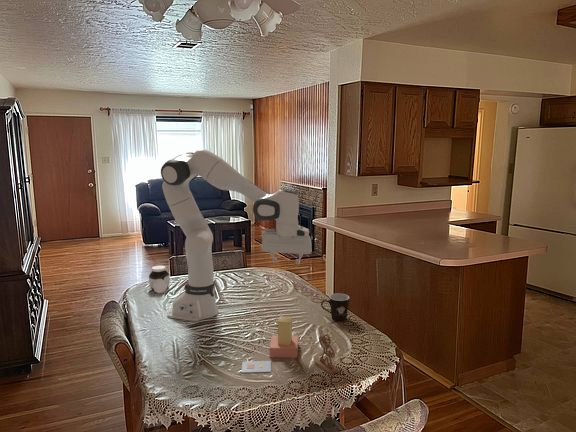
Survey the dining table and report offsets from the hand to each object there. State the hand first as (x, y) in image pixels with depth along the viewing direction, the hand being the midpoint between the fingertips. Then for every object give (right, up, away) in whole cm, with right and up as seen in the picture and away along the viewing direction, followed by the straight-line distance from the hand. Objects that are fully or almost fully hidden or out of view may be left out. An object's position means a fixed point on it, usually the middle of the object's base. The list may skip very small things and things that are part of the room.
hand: (286, 263), depth 175 cm
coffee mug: (+22, -26, +15) cm, 37 cm away
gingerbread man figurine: (+14, -33, -26) cm, 45 cm away
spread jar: (-66, -20, +51) cm, 86 cm away
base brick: (-1, -31, -14) cm, 34 cm away
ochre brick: (0, -28, -15) cm, 31 cm away
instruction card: (-10, -33, -26) cm, 43 cm away
